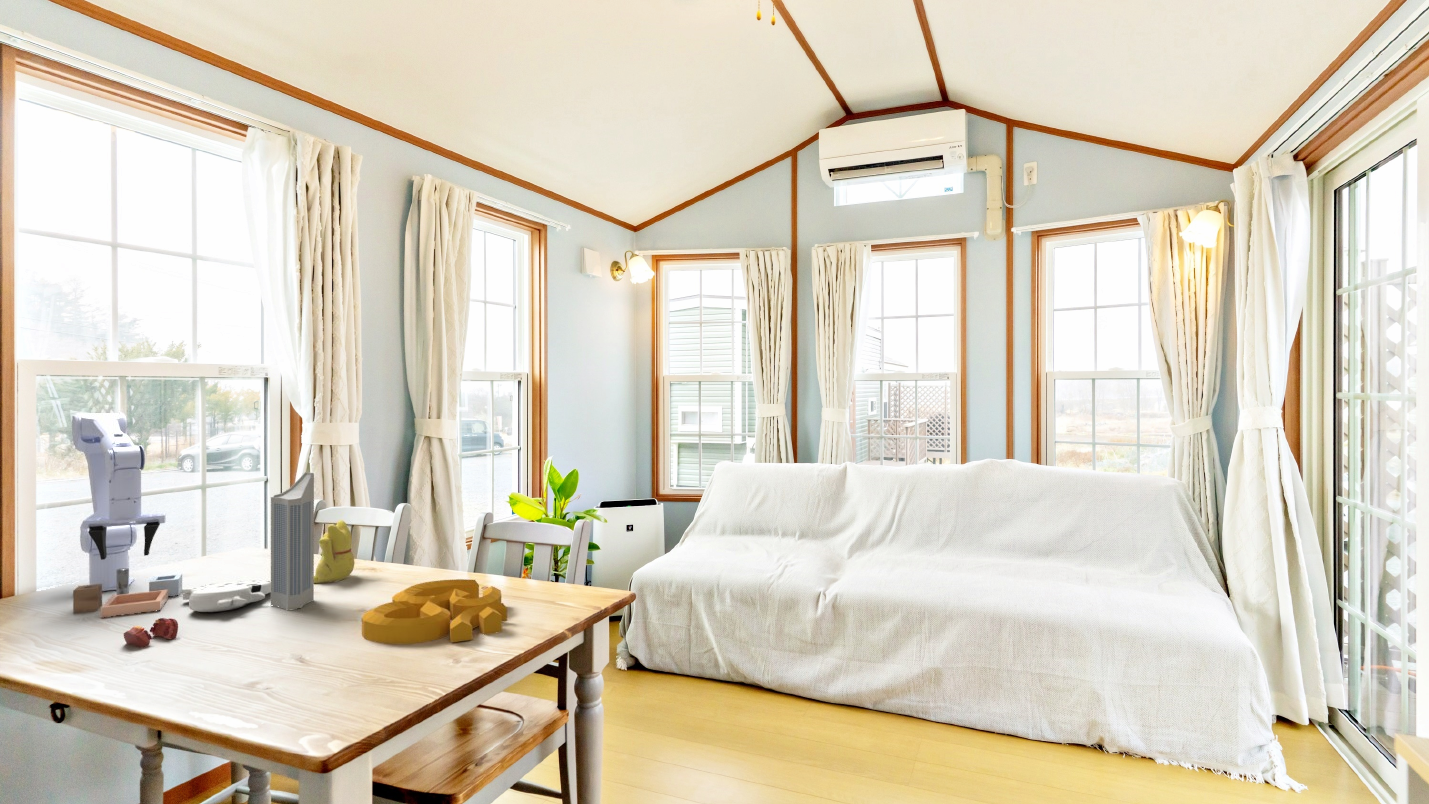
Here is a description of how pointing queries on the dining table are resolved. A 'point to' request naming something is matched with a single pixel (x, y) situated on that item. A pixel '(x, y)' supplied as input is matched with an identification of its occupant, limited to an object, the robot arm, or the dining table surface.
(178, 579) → the slate block
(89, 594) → the walnut block
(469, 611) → the decorative symbol
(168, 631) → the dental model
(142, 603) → the tray
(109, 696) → the dining table surface
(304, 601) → the building model
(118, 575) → the pin
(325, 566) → the figurine
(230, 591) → the toy
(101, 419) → the robot arm
